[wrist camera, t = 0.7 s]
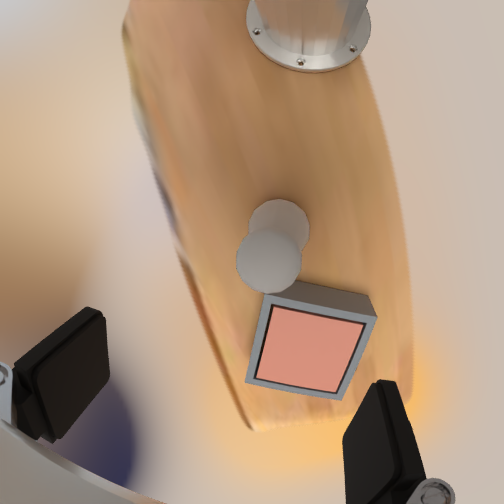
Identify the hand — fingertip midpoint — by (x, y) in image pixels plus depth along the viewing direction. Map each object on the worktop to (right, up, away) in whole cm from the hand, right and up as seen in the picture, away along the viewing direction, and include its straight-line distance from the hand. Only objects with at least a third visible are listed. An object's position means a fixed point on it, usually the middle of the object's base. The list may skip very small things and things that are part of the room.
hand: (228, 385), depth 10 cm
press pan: (+6, -6, +21) cm, 23 cm away
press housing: (+7, -4, +25) cm, 26 cm away
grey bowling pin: (+4, +7, +22) cm, 24 cm away
